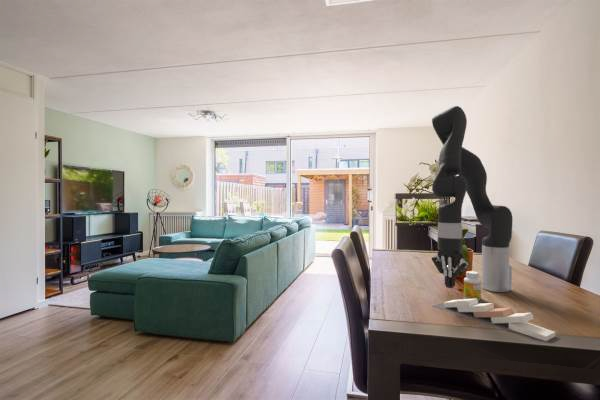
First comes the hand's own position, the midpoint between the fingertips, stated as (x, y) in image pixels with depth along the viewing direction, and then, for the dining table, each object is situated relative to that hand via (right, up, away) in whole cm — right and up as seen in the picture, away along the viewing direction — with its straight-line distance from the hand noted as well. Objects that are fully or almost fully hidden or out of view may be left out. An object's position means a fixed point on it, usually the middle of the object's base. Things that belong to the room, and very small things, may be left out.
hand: (450, 287), depth 108 cm
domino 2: (+2, -6, -4) cm, 7 cm away
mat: (+4, -7, -7) cm, 11 cm away
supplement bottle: (+12, -7, +9) cm, 16 cm away
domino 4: (+8, -6, -13) cm, 16 cm away
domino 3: (+5, -6, -8) cm, 11 cm away
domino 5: (+10, -6, -17) cm, 20 cm away
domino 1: (0, -6, +1) cm, 6 cm away
